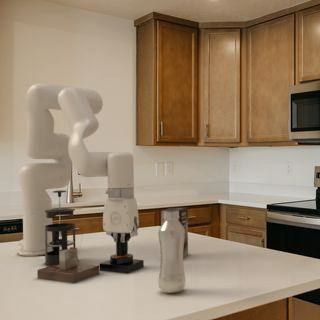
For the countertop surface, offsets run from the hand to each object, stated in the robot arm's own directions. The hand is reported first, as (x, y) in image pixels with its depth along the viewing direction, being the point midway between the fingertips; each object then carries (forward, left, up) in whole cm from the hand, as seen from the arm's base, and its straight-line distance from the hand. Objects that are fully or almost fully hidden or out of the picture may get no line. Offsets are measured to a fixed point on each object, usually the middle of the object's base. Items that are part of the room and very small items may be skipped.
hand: (122, 255), depth 135 cm
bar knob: (-9, -12, -2) cm, 15 cm away
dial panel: (-9, -12, -4) cm, 16 cm away
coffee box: (+7, +19, -4) cm, 21 cm away
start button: (0, 0, -2) cm, 2 cm away
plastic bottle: (+26, -14, -4) cm, 30 cm away
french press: (-24, 0, -4) cm, 25 cm away
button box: (0, 0, -4) cm, 4 cm away
